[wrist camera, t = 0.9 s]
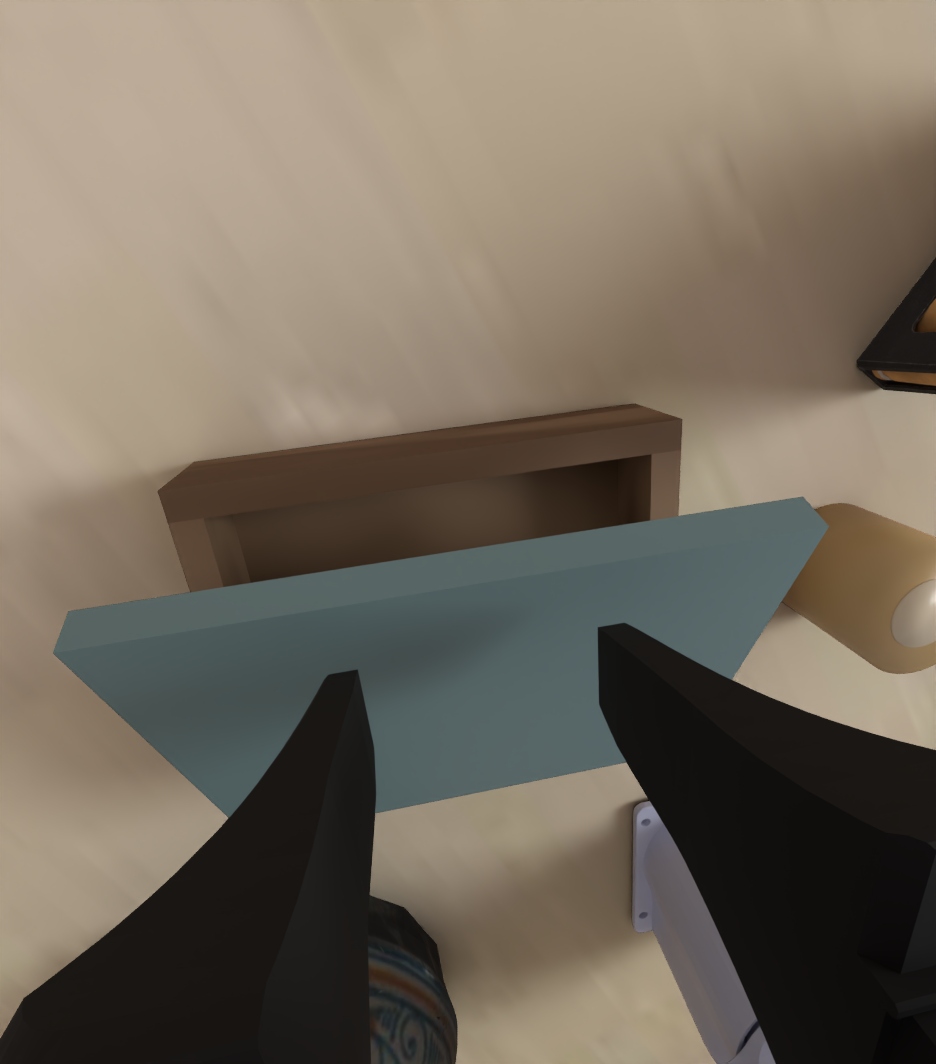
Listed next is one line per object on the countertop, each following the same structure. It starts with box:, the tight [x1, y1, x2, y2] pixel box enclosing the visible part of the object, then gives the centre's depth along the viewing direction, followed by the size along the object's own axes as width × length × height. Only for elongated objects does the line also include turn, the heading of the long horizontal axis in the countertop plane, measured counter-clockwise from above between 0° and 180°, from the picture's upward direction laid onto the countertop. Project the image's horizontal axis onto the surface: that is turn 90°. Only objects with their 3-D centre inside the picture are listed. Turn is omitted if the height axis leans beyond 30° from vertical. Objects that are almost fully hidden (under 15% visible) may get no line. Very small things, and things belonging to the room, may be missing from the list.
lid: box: [53, 497, 829, 817], centre depth 17 cm, size 12×16×1 cm
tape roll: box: [782, 503, 936, 674], centre depth 23 cm, size 5×5×5 cm
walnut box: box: [158, 404, 682, 592], centre depth 21 cm, size 12×16×4 cm
